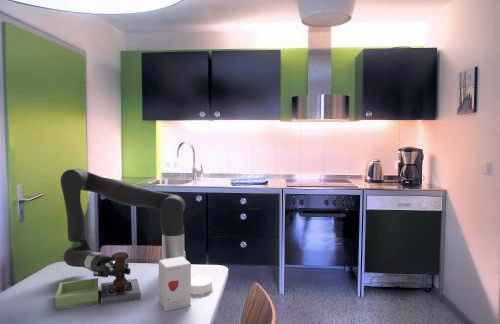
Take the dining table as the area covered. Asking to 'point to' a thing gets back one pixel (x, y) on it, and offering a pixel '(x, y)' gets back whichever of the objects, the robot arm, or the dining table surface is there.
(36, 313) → the dining table surface
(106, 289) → the square frame
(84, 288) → the tray
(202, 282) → the white round disc
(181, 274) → the supplement box
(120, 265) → the bolt
